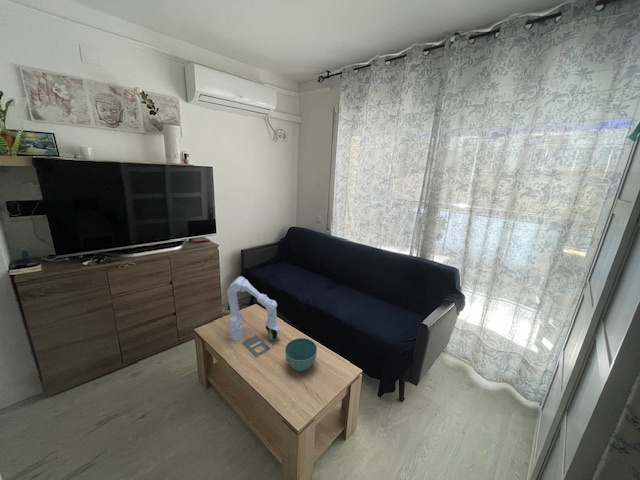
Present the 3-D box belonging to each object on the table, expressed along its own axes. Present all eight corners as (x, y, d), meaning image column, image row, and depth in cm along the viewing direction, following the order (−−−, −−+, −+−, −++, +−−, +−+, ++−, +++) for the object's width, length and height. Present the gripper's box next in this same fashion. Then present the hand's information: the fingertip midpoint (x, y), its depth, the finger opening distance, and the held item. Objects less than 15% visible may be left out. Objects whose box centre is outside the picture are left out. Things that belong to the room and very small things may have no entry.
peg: (268, 339, 163) (268, 328, 161) (273, 336, 166) (273, 326, 163) (271, 342, 160) (271, 331, 158) (277, 339, 163) (276, 329, 161)
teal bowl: (310, 382, 133) (310, 364, 129) (279, 373, 138) (279, 355, 134) (320, 358, 150) (320, 341, 146) (292, 351, 155) (292, 335, 151)
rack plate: (242, 345, 159) (242, 341, 158) (256, 338, 166) (256, 334, 165) (256, 359, 147) (256, 355, 147) (270, 351, 154) (270, 347, 153)
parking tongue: (264, 339, 164) (264, 338, 164) (272, 335, 169) (272, 333, 169) (272, 347, 158) (272, 345, 157) (281, 342, 162) (281, 340, 162)
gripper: (283, 321, 156) (284, 339, 160) (271, 311, 166) (271, 329, 170) (274, 326, 152) (275, 344, 155) (262, 315, 161) (262, 333, 165)
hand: (272, 336), depth 162 cm, fingers closed on peg, 4 cm apart
